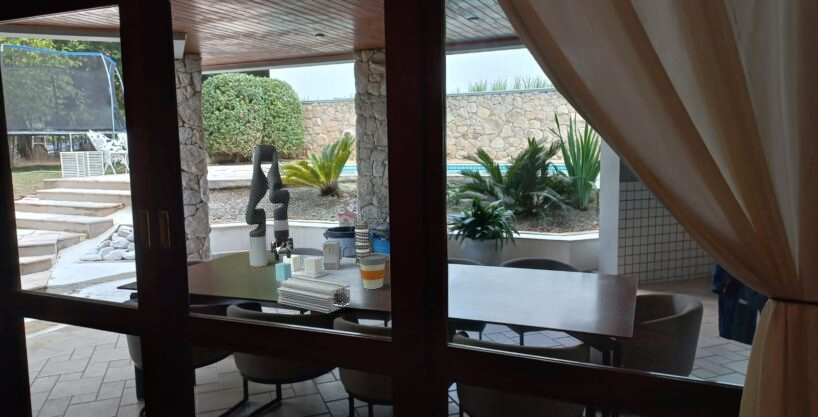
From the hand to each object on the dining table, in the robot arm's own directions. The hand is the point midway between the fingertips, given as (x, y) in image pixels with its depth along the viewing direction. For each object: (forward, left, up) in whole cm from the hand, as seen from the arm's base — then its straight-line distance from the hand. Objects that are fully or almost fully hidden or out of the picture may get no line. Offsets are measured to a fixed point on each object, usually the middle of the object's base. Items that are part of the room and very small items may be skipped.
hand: (283, 259), depth 290 cm
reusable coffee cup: (+51, +7, -11) cm, 52 cm away
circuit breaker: (+6, +34, -11) cm, 36 cm away
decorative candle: (+16, +49, -11) cm, 53 cm away
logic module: (0, 0, -11) cm, 11 cm away
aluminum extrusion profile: (+42, -27, -11) cm, 51 cm away
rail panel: (0, +15, -11) cm, 18 cm away
